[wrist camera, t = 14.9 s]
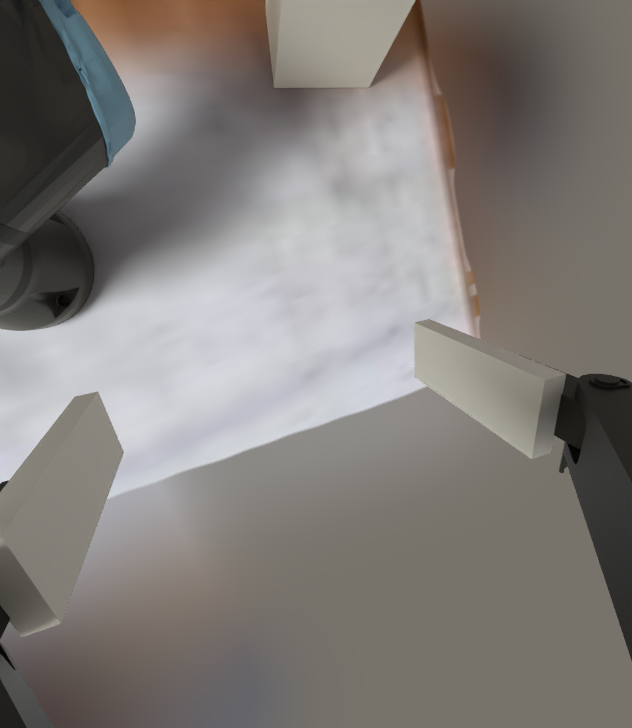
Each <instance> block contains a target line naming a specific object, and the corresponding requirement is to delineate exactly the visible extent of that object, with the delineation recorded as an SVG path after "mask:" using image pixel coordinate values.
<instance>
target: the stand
mask: <svg viewBox="0 0 632 728" xmlns="http://www.w3.org/2000/svg"><path fill="white" fill-rule="evenodd" d="M414 2H415V0H266V8H265V11H266V20H267V29H268V38H269V48H270V57H271V66H272V75H273V84H274V88H369V86H370V85H371V83H372V81H373V79H374V77H375V75H376V73H377V72H378V70H379V68H380V66H381V64H382V62H383V60H384V58H385V57H386V55H387V53H388V51H389V49H390V47H391V45H392V43H393V42H394V40H395V38H396V36H397V34H398V32H399V30H400V28H401V27H402V25H403V23H404V21H405V19H406V17H407V15H408V14H409V12H410V10H411V8H412V6H413V4H414Z"/></svg>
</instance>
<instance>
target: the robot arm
mask: <svg viewBox="0 0 632 728" xmlns="http://www.w3.org/2000/svg"><path fill="white" fill-rule="evenodd" d="M135 125H136V118H135V112H134V109H133V105H132V102H131V100H130V97H129V95H128V93H127V91H126V89H125V87H124V84H123V82H122V81H121V79H120V77H119V75H118V73H117V71H116V69H115V68H114V66H113V64H112V62H111V61H110V59H109V57H108V56H107V54H106V52H105V51H104V49H103V47H102V46H101V44H100V42H99V41H98V39H97V38H96V36H95V34H94V33H93V31H92V30H91V28H90V27H89V25H88V24H87V22H86V21H85V19H84V18H83V17H82V15H81V14H80V13H79V12H78V11H77V10H76V9H75V8H74V7H73V6H72V3H71V1H70V0H0V329H6V330H16V331H26V330H36V329H43V328H48V327H52V326H55V325H58V324H60V323H62V322H64V321H66V320H68V319H69V318H71V317H72V316H73V315H74V314H76V313H77V312H78V311H79V310H80V309H81V307H82V306H83V305H84V303H85V302H86V300H87V298H88V296H89V294H90V292H91V289H92V285H93V279H94V266H93V259H92V255H91V252H90V249H89V247H88V244H87V242H86V240H85V239H84V237H83V235H82V234H81V232H80V231H79V230H78V228H77V227H76V226H75V225H74V224H73V223H72V221H70V220H69V219H68V218H67V217H66V216H65V215H64V214H62V213H61V212H60V211H58V210H59V209H60V208H61V207H62V206H63V205H64V204H65V203H67V202H68V201H69V200H70V199H71V198H72V197H73V196H74V195H75V194H76V193H77V192H78V191H79V190H81V189H82V188H83V187H84V186H85V185H86V184H87V183H88V182H89V181H90V180H91V179H92V178H93V177H95V176H96V175H97V174H98V173H99V172H100V171H101V170H102V169H103V168H107V167H109V166H110V165H111V163H112V162H113V158H114V156H115V155H116V154H117V153H118V152H119V151H120V150H121V149H122V148H123V146H124V145H125V144H126V143H127V142H128V141H129V140H130V139H131V138H132V136H133V133H134V130H135ZM415 378H417V379H418V380H420V381H421V382H423V383H424V384H425V385H427V386H428V387H430V388H431V389H432V390H434V391H435V392H437V393H439V394H440V395H441V396H442V397H444V398H445V399H447V400H448V401H450V402H451V403H452V404H454V405H455V406H457V407H458V408H460V409H461V410H462V411H464V412H465V413H467V414H468V415H470V416H471V417H472V418H474V419H475V420H477V421H478V422H480V423H481V424H482V425H484V426H485V427H487V428H488V429H489V430H491V431H492V432H494V433H495V434H497V435H498V436H499V437H501V438H502V439H504V440H505V441H507V442H508V443H509V444H511V445H512V446H514V447H515V448H517V449H518V450H519V451H521V452H522V453H524V454H525V455H527V456H528V457H529V458H531V459H533V458H536V457H539V456H542V455H545V454H548V453H551V451H552V446H553V441H554V436H557V437H558V438H560V439H562V440H564V441H565V444H564V449H563V454H562V458H561V463H560V468H559V472H561V473H563V472H564V468H566V467H567V466H568V468H569V471H570V474H571V478H572V481H573V483H574V487H575V489H576V493H577V496H578V499H579V502H580V505H581V508H582V511H583V514H584V517H585V520H586V523H587V526H588V529H589V532H590V535H591V538H592V541H593V544H594V547H595V550H596V553H597V556H598V560H599V563H600V566H601V569H602V572H603V574H604V578H605V581H606V584H607V586H608V590H609V593H610V596H611V599H612V602H613V605H614V608H615V611H616V614H617V617H618V620H619V623H620V626H621V629H622V632H623V636H624V639H625V642H626V645H627V647H628V650H629V654H630V657H631V660H632V383H631V382H630V381H628V380H626V379H623V378H620V377H615V376H612V375H605V374H588V375H582V376H581V377H579V378H577V377H574V376H572V375H569V374H567V373H564V372H561V371H559V370H557V369H554V368H551V367H549V366H546V365H543V364H541V363H539V362H536V361H533V360H531V359H529V358H526V357H524V356H521V355H518V354H515V353H512V352H510V351H508V350H505V349H503V348H500V347H497V346H495V345H493V344H490V343H488V342H485V341H483V340H480V339H477V338H475V337H472V336H470V335H467V334H465V333H462V332H460V331H457V330H455V329H452V328H450V327H447V326H445V325H442V324H440V323H437V322H435V321H432V320H430V319H429V320H424V321H420V322H415ZM123 453H124V452H123V449H122V447H121V445H120V442H119V440H118V438H117V435H116V433H115V431H114V428H113V426H112V423H111V421H110V419H109V416H108V414H107V412H106V409H105V407H104V405H103V402H102V400H101V398H100V395H99V393H98V392H94V393H90V394H85V395H81V396H76V397H74V399H73V400H72V401H71V402H70V404H69V405H68V406H67V408H66V409H65V410H64V411H63V413H62V414H61V415H60V416H59V418H58V419H57V420H56V422H55V423H54V424H53V425H52V427H51V428H50V429H49V431H48V432H47V433H46V434H45V436H44V437H43V438H42V439H41V441H40V442H39V443H38V445H37V446H36V447H35V448H34V450H33V451H32V452H31V454H30V455H29V456H28V457H27V459H26V460H25V461H24V462H23V464H22V465H21V466H20V468H19V469H18V470H17V471H16V473H15V474H14V475H13V477H12V478H11V479H10V480H9V481H5V482H2V483H1V484H0V638H1V636H2V634H3V632H4V630H5V628H6V626H7V624H8V622H9V621H10V622H11V623H12V625H13V626H14V627H15V628H16V630H17V631H18V632H19V634H20V635H21V636H22V637H24V636H27V635H29V634H32V633H35V632H38V631H41V630H44V629H47V628H50V627H52V626H55V625H58V624H61V622H62V619H63V616H64V614H65V611H66V608H67V605H68V603H69V600H70V597H71V595H72V592H73V589H74V586H75V584H76V581H77V578H78V575H79V573H80V570H81V567H82V565H83V562H84V559H85V556H86V554H87V551H88V548H89V546H90V543H91V540H92V537H93V535H94V532H95V529H96V527H97V524H98V521H99V518H100V515H101V513H102V510H103V507H104V504H105V502H106V499H107V497H108V494H109V491H110V488H111V486H112V483H113V480H114V478H115V475H116V472H117V469H118V467H119V464H120V461H121V459H122V456H123ZM0 728H54V727H53V725H52V724H51V722H50V720H49V719H48V717H47V715H46V714H45V712H44V711H43V709H42V707H41V706H40V704H39V702H38V701H37V699H36V697H35V696H34V694H33V692H32V691H31V689H30V688H29V686H28V684H27V682H26V681H25V679H24V677H23V676H22V674H21V672H20V671H19V669H18V668H17V666H16V664H15V663H14V661H13V659H12V658H11V656H10V654H9V653H8V651H7V649H6V648H5V647H4V646H3V645H2V643H1V642H0Z"/></svg>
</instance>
